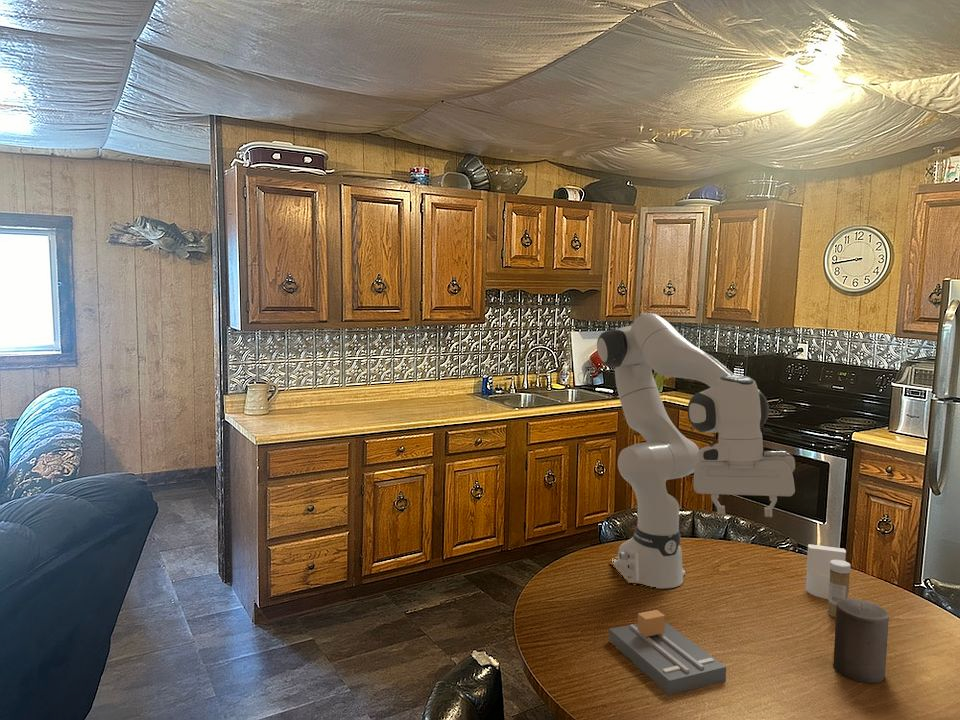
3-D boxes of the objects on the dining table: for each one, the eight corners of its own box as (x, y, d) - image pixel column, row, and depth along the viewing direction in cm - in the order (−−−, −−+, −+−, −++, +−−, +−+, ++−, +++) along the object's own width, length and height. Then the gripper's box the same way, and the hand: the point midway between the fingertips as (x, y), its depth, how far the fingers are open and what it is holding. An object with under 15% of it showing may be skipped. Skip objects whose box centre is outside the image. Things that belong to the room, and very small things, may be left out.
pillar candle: (826, 671, 141) (830, 602, 140) (840, 653, 148) (844, 588, 147) (879, 689, 135) (883, 618, 133) (890, 669, 142) (895, 601, 140)
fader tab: (637, 633, 150) (638, 613, 150) (656, 630, 152) (656, 609, 151) (645, 640, 147) (646, 619, 147) (664, 636, 149) (665, 615, 149)
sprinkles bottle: (851, 616, 166) (854, 563, 164) (841, 621, 163) (844, 567, 162) (833, 608, 169) (836, 557, 168) (823, 613, 167) (826, 561, 166)
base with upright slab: (806, 595, 177) (809, 551, 176) (804, 582, 185) (806, 540, 184) (845, 601, 174) (848, 556, 172) (841, 587, 182) (843, 544, 181)
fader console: (608, 641, 153) (609, 626, 153) (660, 630, 158) (660, 616, 158) (669, 695, 133) (669, 677, 132) (725, 680, 138) (726, 663, 137)
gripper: (794, 449, 142) (798, 514, 142) (694, 448, 151) (697, 510, 151) (794, 453, 137) (798, 521, 136) (690, 452, 145) (693, 516, 145)
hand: (744, 515), depth 144 cm, fingers open, 8 cm apart
